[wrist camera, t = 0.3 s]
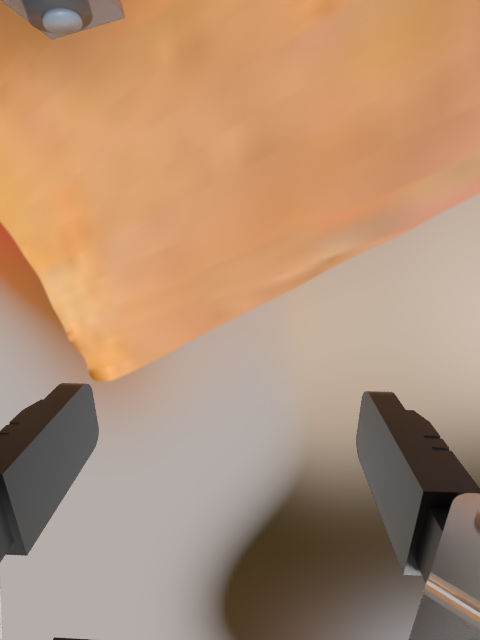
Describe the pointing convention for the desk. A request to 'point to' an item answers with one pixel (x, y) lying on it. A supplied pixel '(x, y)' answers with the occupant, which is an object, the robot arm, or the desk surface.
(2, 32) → the desk surface
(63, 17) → the camera body
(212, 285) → the desk surface
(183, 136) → the desk surface
